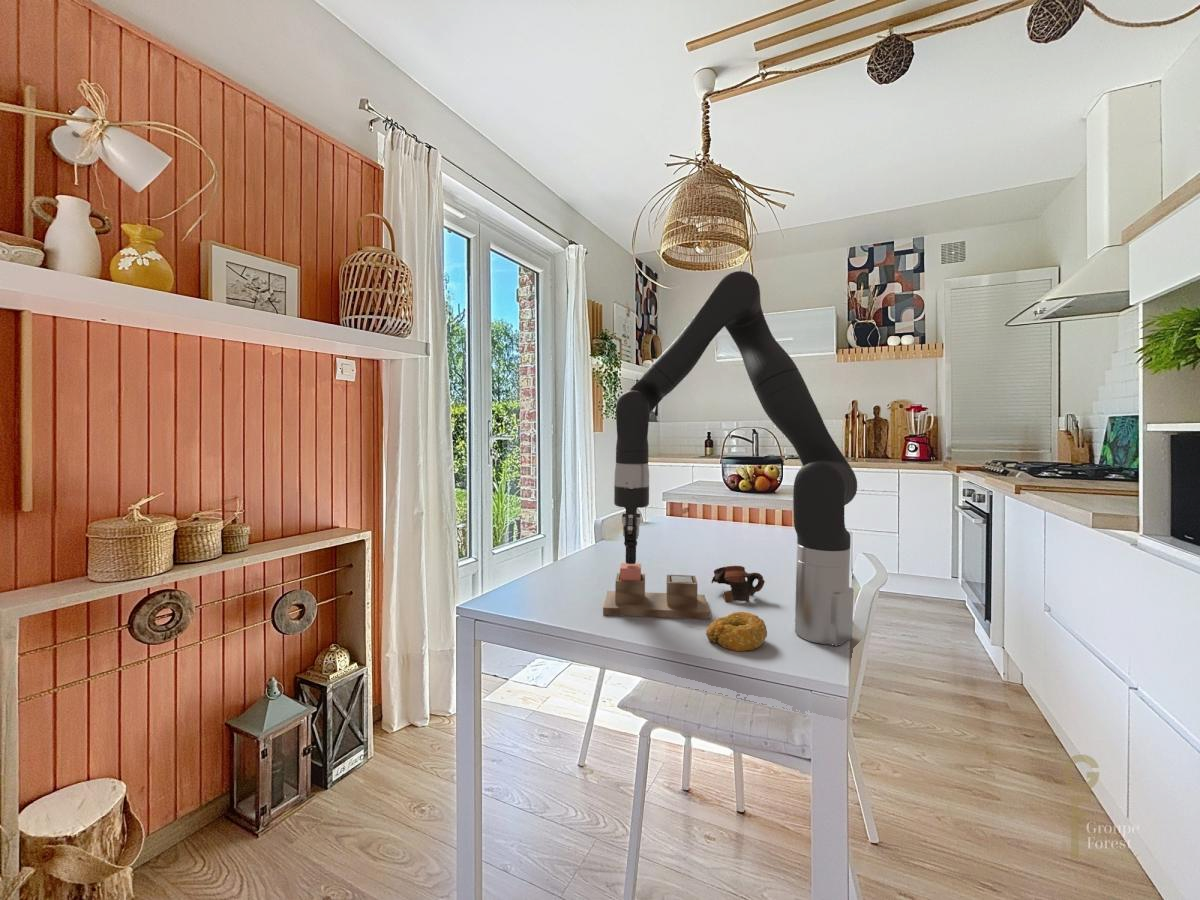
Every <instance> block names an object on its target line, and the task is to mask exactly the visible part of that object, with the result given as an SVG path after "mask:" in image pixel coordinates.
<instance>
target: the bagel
mask: <svg viewBox="0 0 1200 900" xmlns="http://www.w3.org/2000/svg"><path fill="white" fill-rule="evenodd" d="M705 635H706V636H707V638H708V640H709V641H712V643H715V644H719V645H720V646H722V647H723V648H725V649H728V648H729V650H731V649H732V651H735V650H736V652H744V651H745V652H746V651H747V650H750V651H753V650H755V649H757V648H759V647H760V646H761V645H762V644H763V643H764V642H765V641H766V638H767V637H768V630H767V625H766V624H765V621H764V619H761V618H760V617H759V616H758V615H756V614H754V613H750V612H746V611H738V612H732V613H729V614H728V615H727V616H722V617H718V618H716V619H715V620H713V621H712V622H711V623H710V624H709V625H708V626H707V627H706V630H705Z"/></svg>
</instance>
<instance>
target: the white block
mask: <svg viewBox="0 0 1200 900" xmlns="http://www.w3.org/2000/svg"><path fill="white" fill-rule="evenodd" d="M671 582H679V583H693V581H692V578H691V577H689V576H671Z"/></svg>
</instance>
